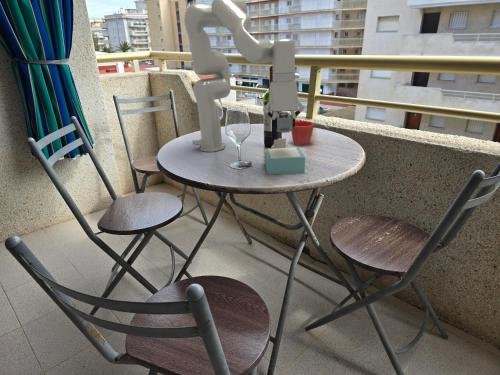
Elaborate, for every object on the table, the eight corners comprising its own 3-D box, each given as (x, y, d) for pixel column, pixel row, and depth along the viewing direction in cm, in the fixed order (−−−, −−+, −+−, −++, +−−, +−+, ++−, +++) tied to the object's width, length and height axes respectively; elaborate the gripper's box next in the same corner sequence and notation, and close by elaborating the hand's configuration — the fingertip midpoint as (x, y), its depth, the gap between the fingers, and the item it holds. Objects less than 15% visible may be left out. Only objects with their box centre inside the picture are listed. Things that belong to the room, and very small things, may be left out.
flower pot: (313, 146, 146) (314, 126, 142) (289, 146, 148) (289, 126, 144) (312, 140, 156) (313, 120, 152) (290, 140, 158) (290, 120, 154)
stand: (267, 174, 118) (267, 158, 115) (264, 163, 129) (264, 148, 126) (304, 172, 118) (305, 156, 116) (298, 161, 129) (299, 146, 127)
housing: (274, 125, 122) (274, 110, 120) (288, 124, 122) (288, 109, 120) (277, 133, 112) (277, 116, 110) (293, 132, 112) (293, 115, 110)
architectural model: (270, 154, 140) (270, 138, 137) (285, 152, 142) (285, 136, 139) (273, 156, 137) (273, 140, 134) (288, 154, 139) (288, 138, 136)
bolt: (238, 161, 127) (239, 165, 128) (239, 163, 125) (239, 168, 126) (251, 160, 127) (251, 165, 128) (251, 162, 125) (251, 167, 126)
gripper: (305, 75, 113) (304, 125, 121) (258, 78, 113) (259, 128, 120) (310, 77, 106) (308, 130, 114) (259, 80, 106) (261, 133, 114)
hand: (283, 128), depth 117 cm, fingers closed on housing, 5 cm apart
